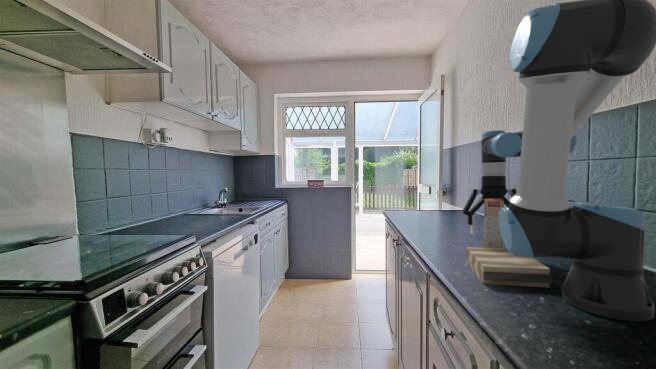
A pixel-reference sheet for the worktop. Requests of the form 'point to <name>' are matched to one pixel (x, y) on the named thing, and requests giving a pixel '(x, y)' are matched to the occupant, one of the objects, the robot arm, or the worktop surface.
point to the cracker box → (492, 223)
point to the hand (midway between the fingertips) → (493, 234)
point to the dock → (507, 268)
